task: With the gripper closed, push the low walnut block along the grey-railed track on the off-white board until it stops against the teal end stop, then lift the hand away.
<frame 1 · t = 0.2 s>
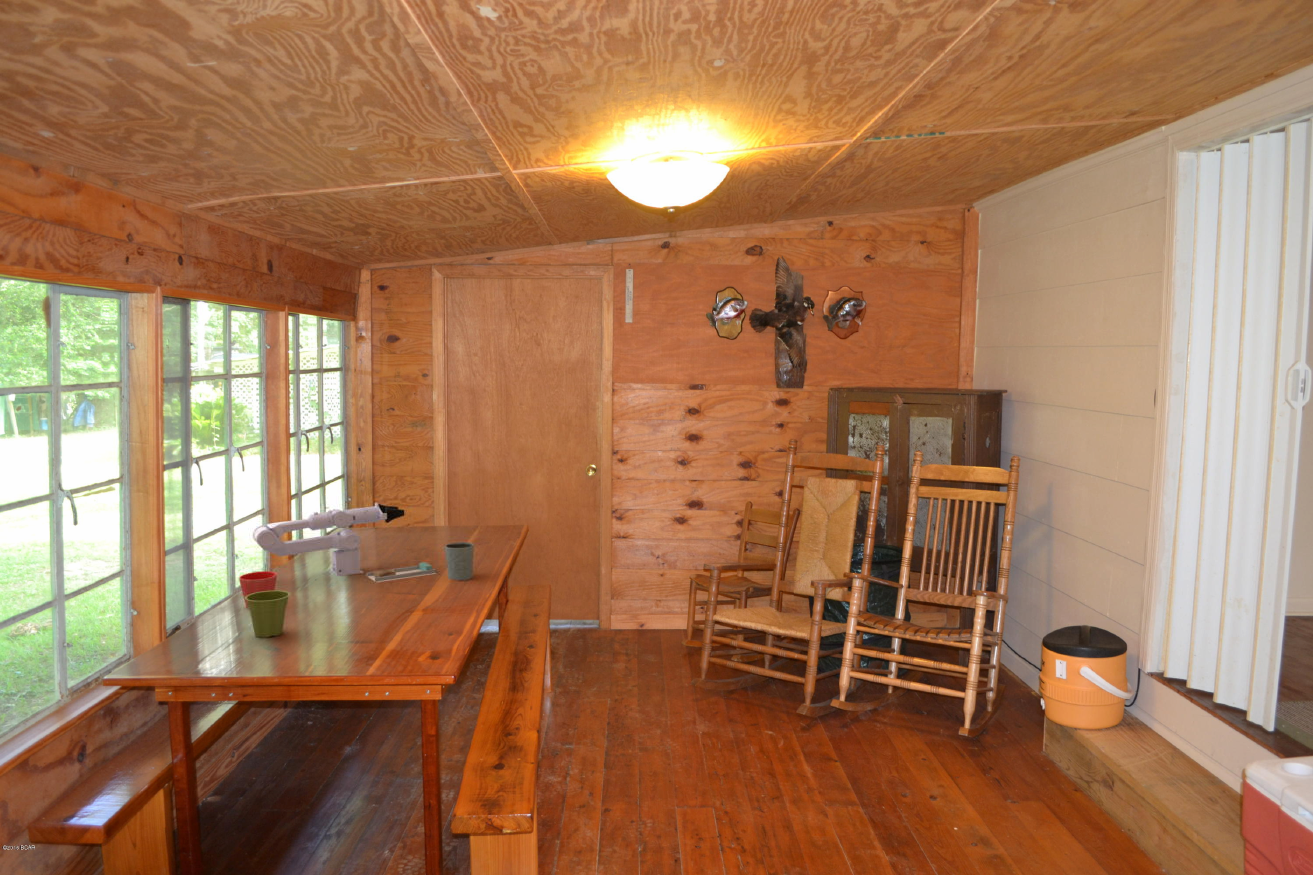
hand: (401, 511, 330), 21 cm above the table, tool horizontal, fingers open, 7 cm apart
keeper: (385, 576, 314), resting on track
grey tapered pot: (459, 578, 314), on the table
flower pot: (259, 605, 279), on the table
track: (401, 575, 317), on the table
plant pot: (269, 634, 250), on the table
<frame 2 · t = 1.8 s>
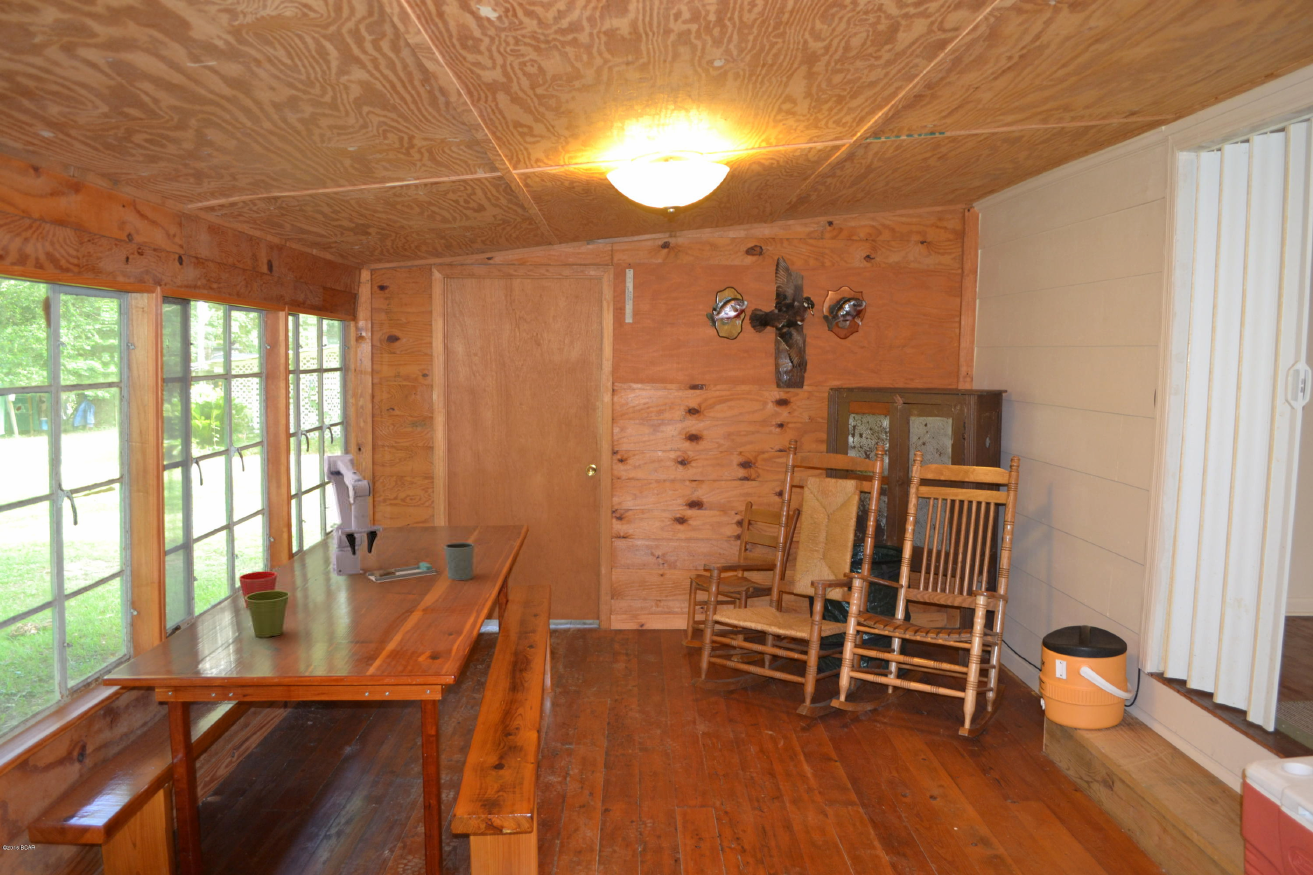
hand: (361, 553, 308), 10 cm above the table, tool pointing down, fingers open, 5 cm apart
nothing on the table moved.
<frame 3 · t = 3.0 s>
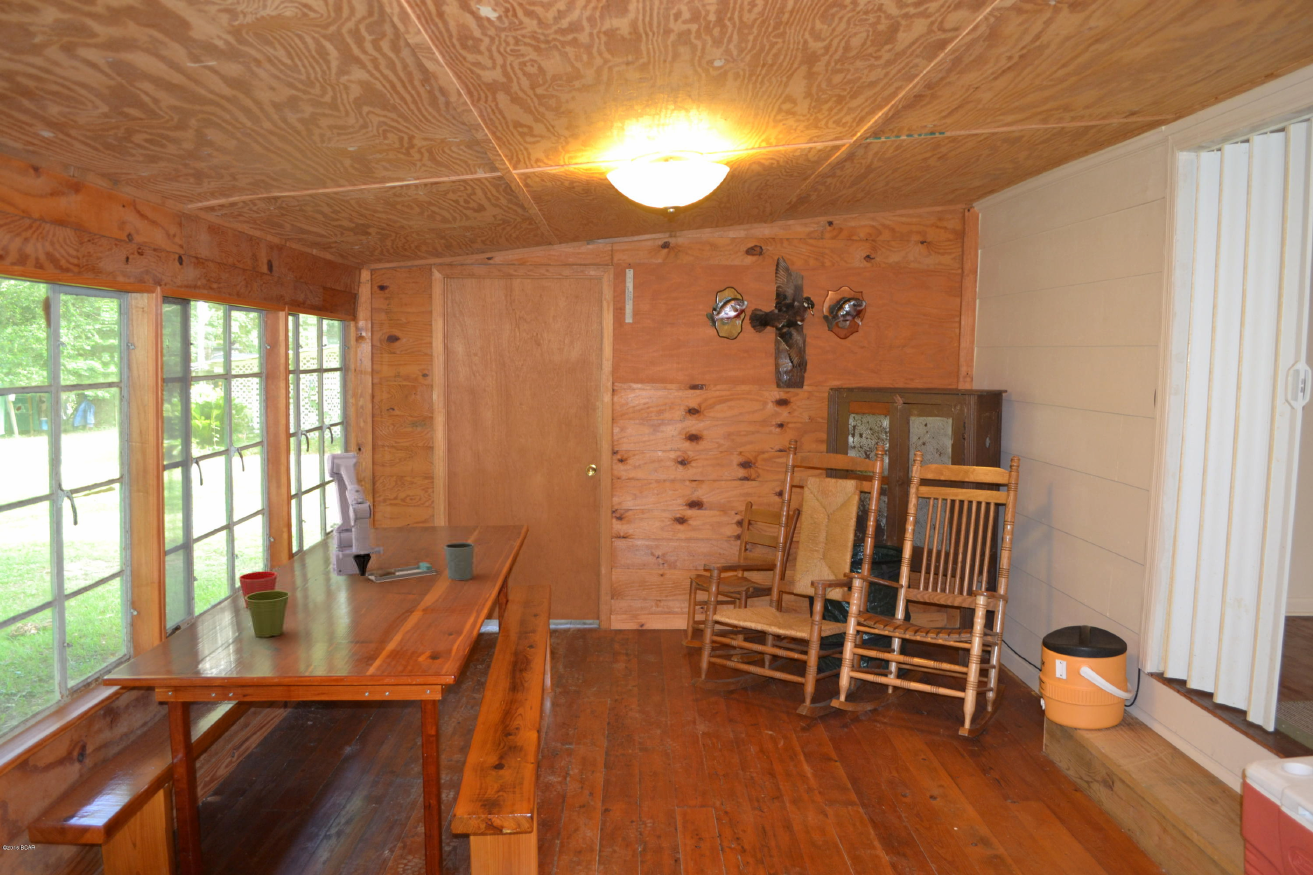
hand: (362, 575, 309), 2 cm above the table, tool pointing down, fingers closed
nothing on the table moved.
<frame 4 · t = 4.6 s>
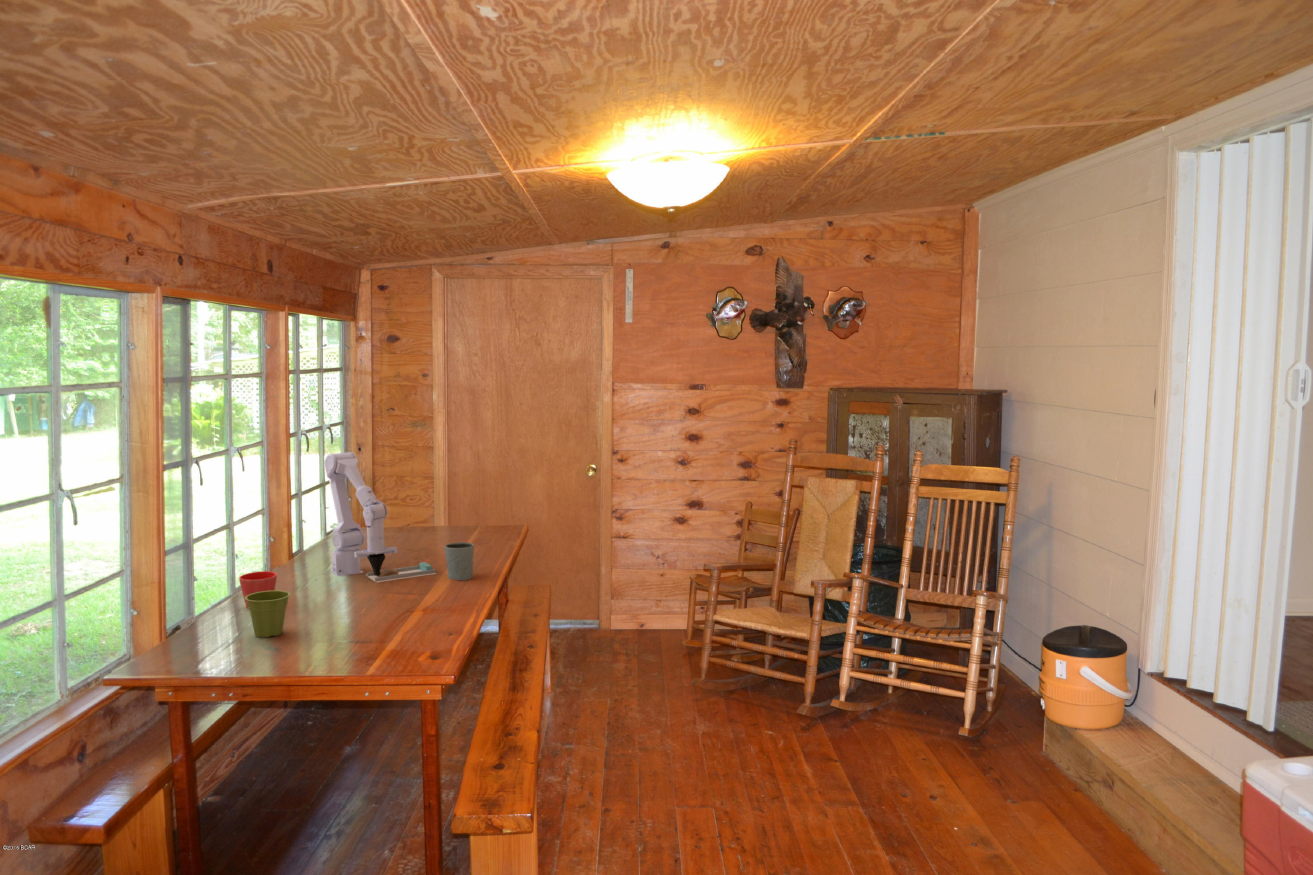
hand: (376, 575, 312), 2 cm above the table, tool pointing down, fingers closed
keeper: (387, 576, 314), resting on track, touching gripper
everything else where it was.
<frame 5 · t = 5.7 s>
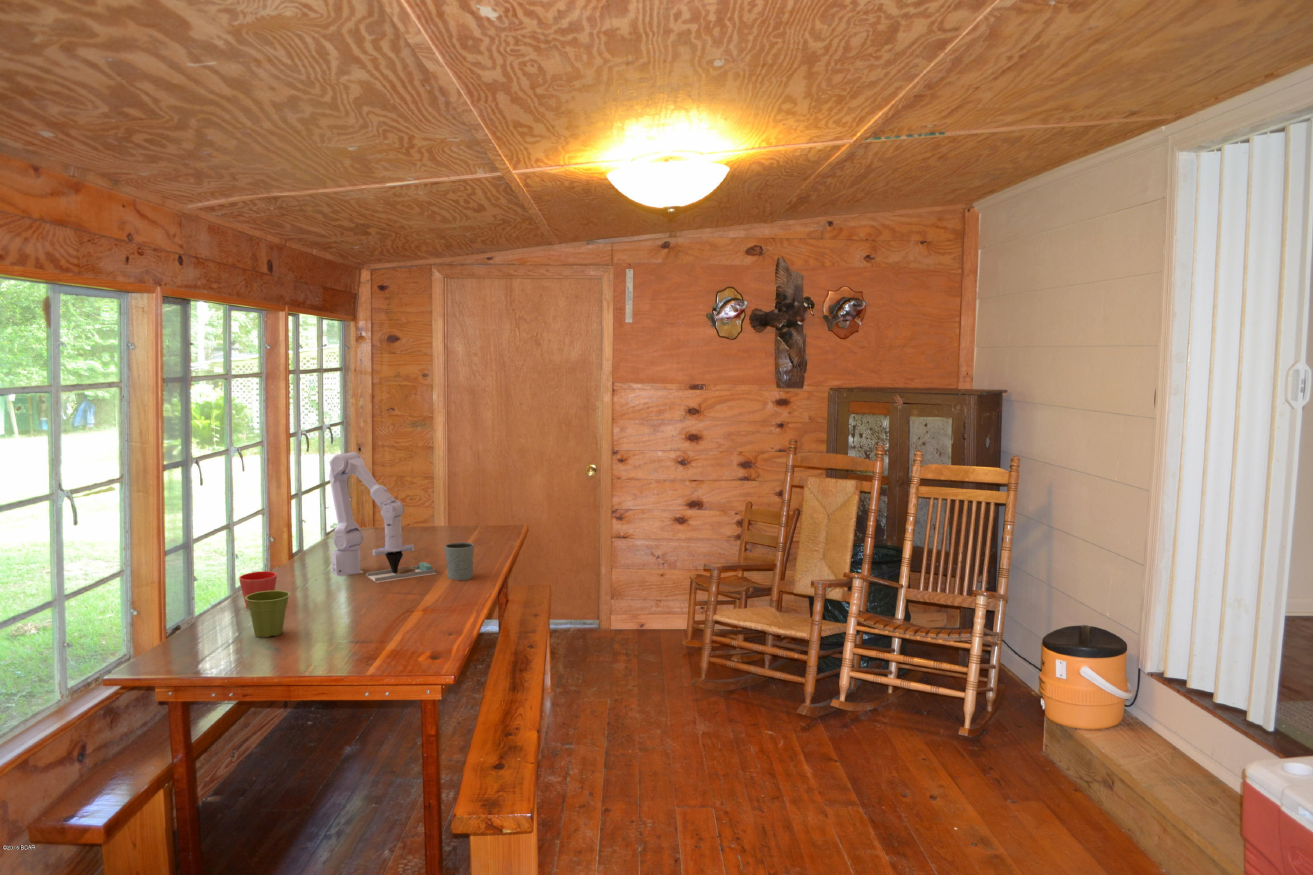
hand: (394, 572, 316), 2 cm above the table, tool pointing down, fingers closed
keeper: (404, 573, 318), resting on track, touching gripper
everything else where it was.
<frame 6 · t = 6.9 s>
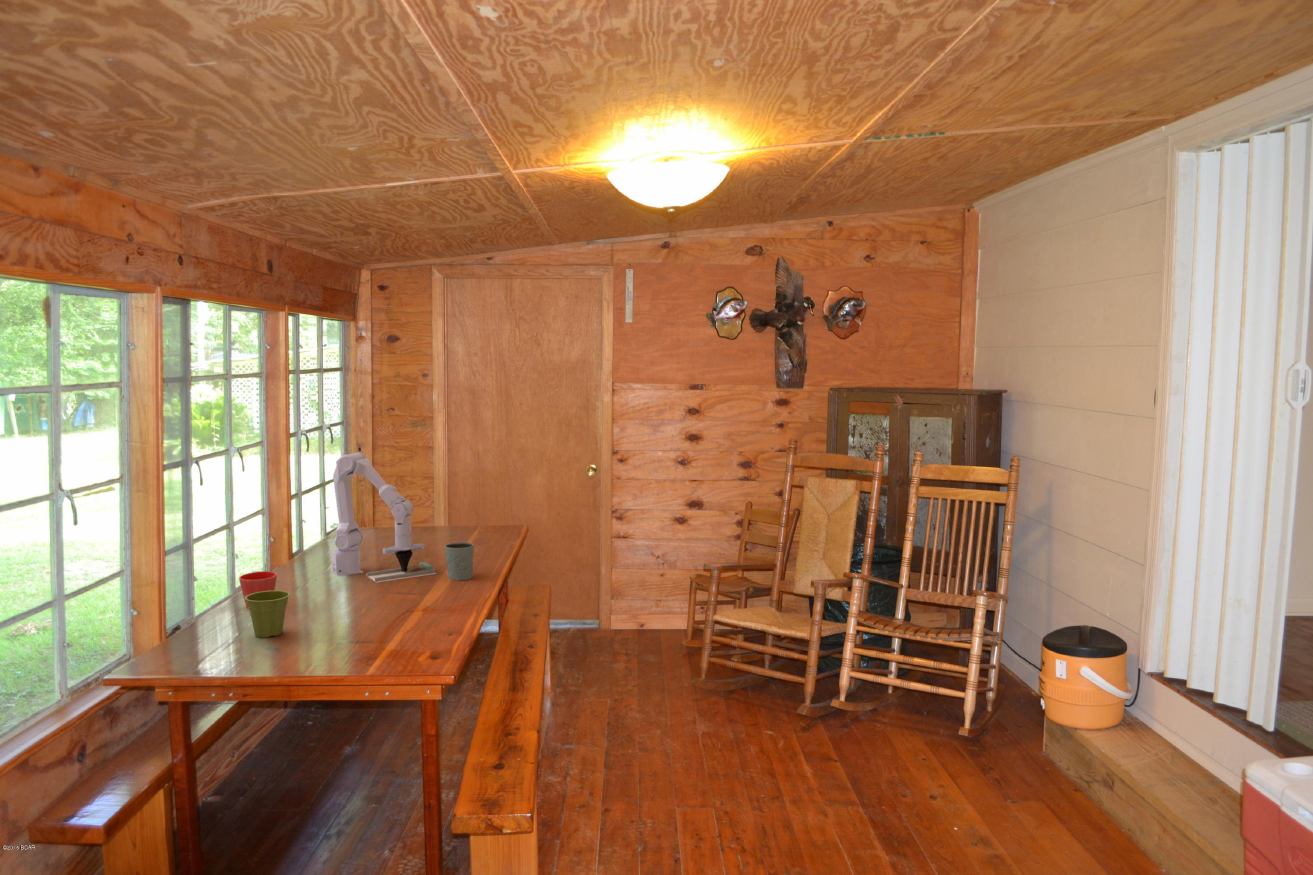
hand: (404, 571, 318), 1 cm above the table, tool pointing down, fingers closed
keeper: (414, 572, 320), resting on track, touching gripper
everything else where it was.
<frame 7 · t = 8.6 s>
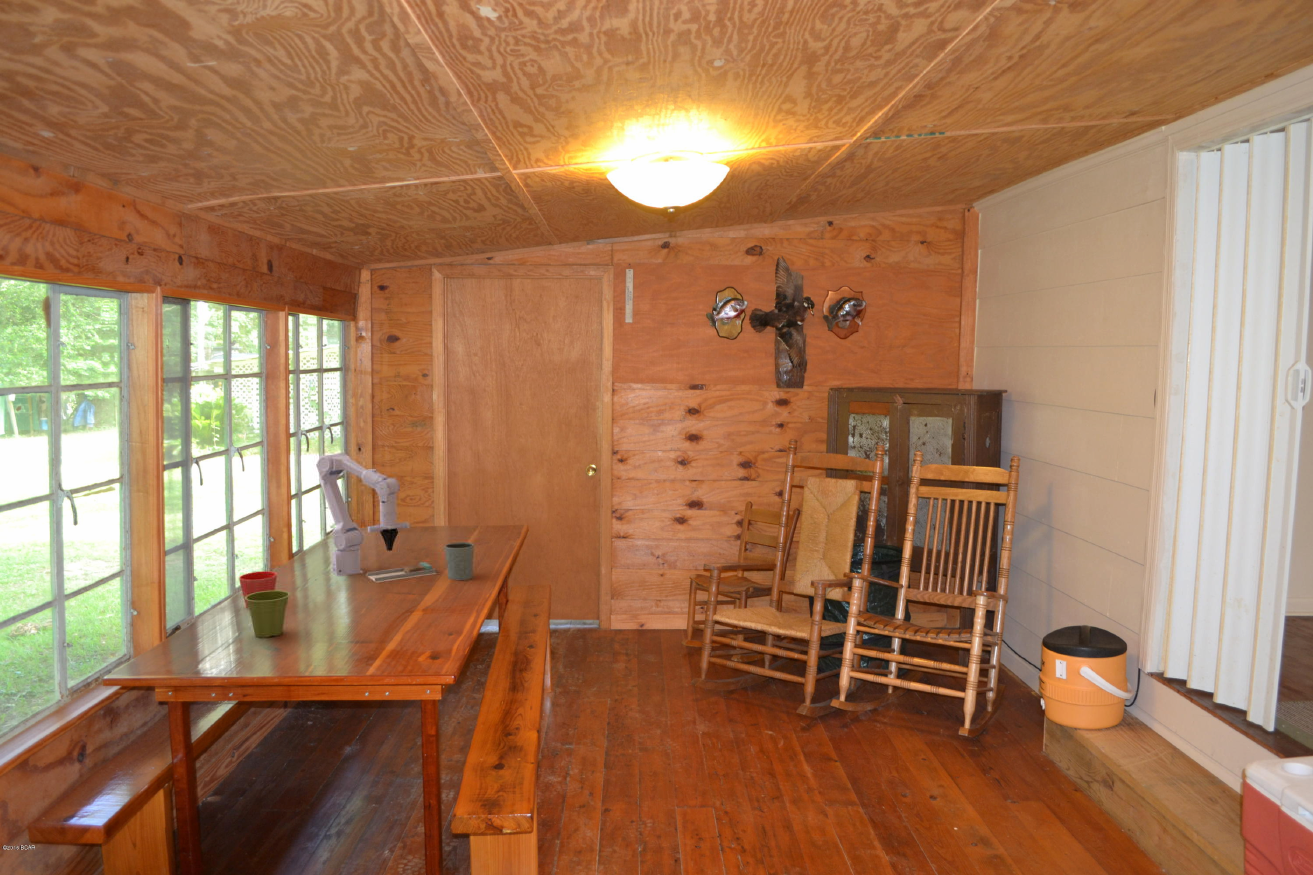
hand: (389, 550, 314), 10 cm above the table, tool pointing down, fingers closed
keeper: (414, 572, 320), resting on track
everything else where it was.
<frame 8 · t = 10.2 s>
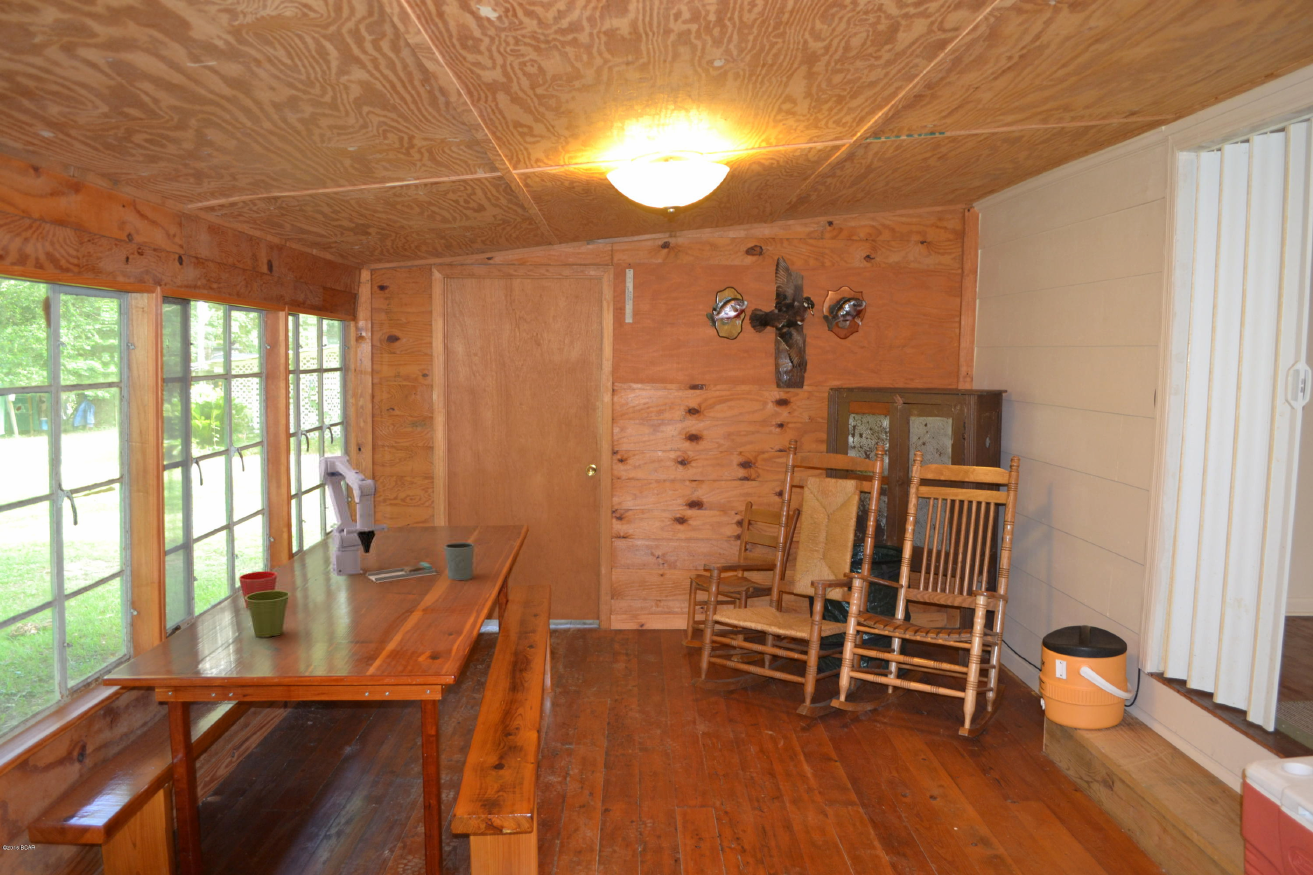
hand: (366, 552, 310), 10 cm above the table, tool pointing down, fingers closed
nothing on the table moved.
at the end: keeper 0.1 cm from the target spot, point 0.5 cm above the table; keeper tilted 0° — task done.
